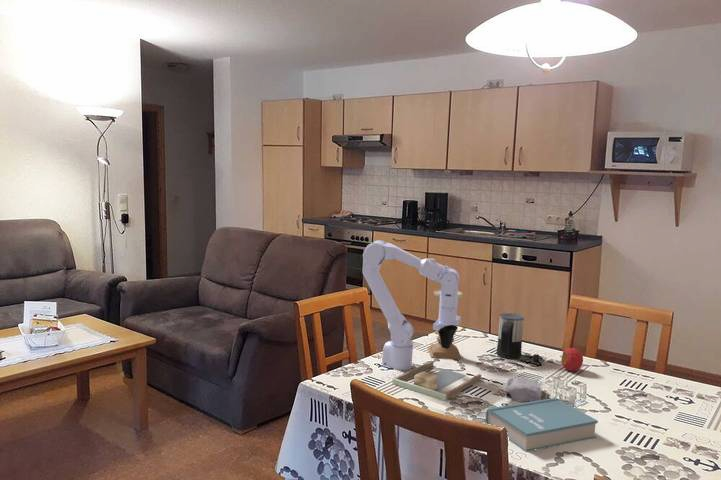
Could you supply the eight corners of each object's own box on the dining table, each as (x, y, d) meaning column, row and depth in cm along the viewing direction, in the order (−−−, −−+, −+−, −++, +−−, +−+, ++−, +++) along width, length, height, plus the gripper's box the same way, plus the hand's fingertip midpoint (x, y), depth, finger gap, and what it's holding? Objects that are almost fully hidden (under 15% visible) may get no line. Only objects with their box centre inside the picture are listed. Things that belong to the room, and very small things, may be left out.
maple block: (413, 388, 168) (414, 375, 167) (422, 383, 172) (423, 371, 171) (428, 393, 165) (428, 379, 164) (436, 388, 169) (437, 375, 168)
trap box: (392, 388, 171) (392, 378, 171) (430, 369, 189) (431, 360, 189) (444, 405, 160) (445, 395, 160) (480, 383, 178) (481, 374, 178)
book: (525, 453, 135) (526, 433, 135) (485, 424, 150) (486, 406, 149) (595, 439, 144) (597, 420, 144) (551, 413, 159) (553, 396, 158)
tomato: (585, 346, 194) (563, 340, 194) (588, 365, 188) (565, 360, 188) (575, 358, 199) (554, 353, 199) (577, 377, 194) (555, 372, 194)
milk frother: (495, 350, 213) (498, 311, 211) (538, 353, 211) (541, 315, 209) (497, 362, 199) (500, 321, 197) (544, 366, 197) (547, 325, 195)
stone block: (509, 405, 167) (544, 403, 165) (506, 390, 166) (541, 387, 165) (505, 392, 178) (538, 389, 177) (503, 377, 178) (536, 374, 176)
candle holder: (462, 363, 196) (466, 296, 193) (430, 362, 196) (434, 294, 193) (457, 353, 207) (461, 289, 204) (427, 352, 207) (431, 288, 204)
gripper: (448, 312, 173) (445, 355, 174) (470, 305, 184) (467, 345, 186) (428, 308, 177) (425, 350, 179) (450, 301, 188) (448, 340, 190)
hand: (445, 347), depth 183 cm, fingers closed
